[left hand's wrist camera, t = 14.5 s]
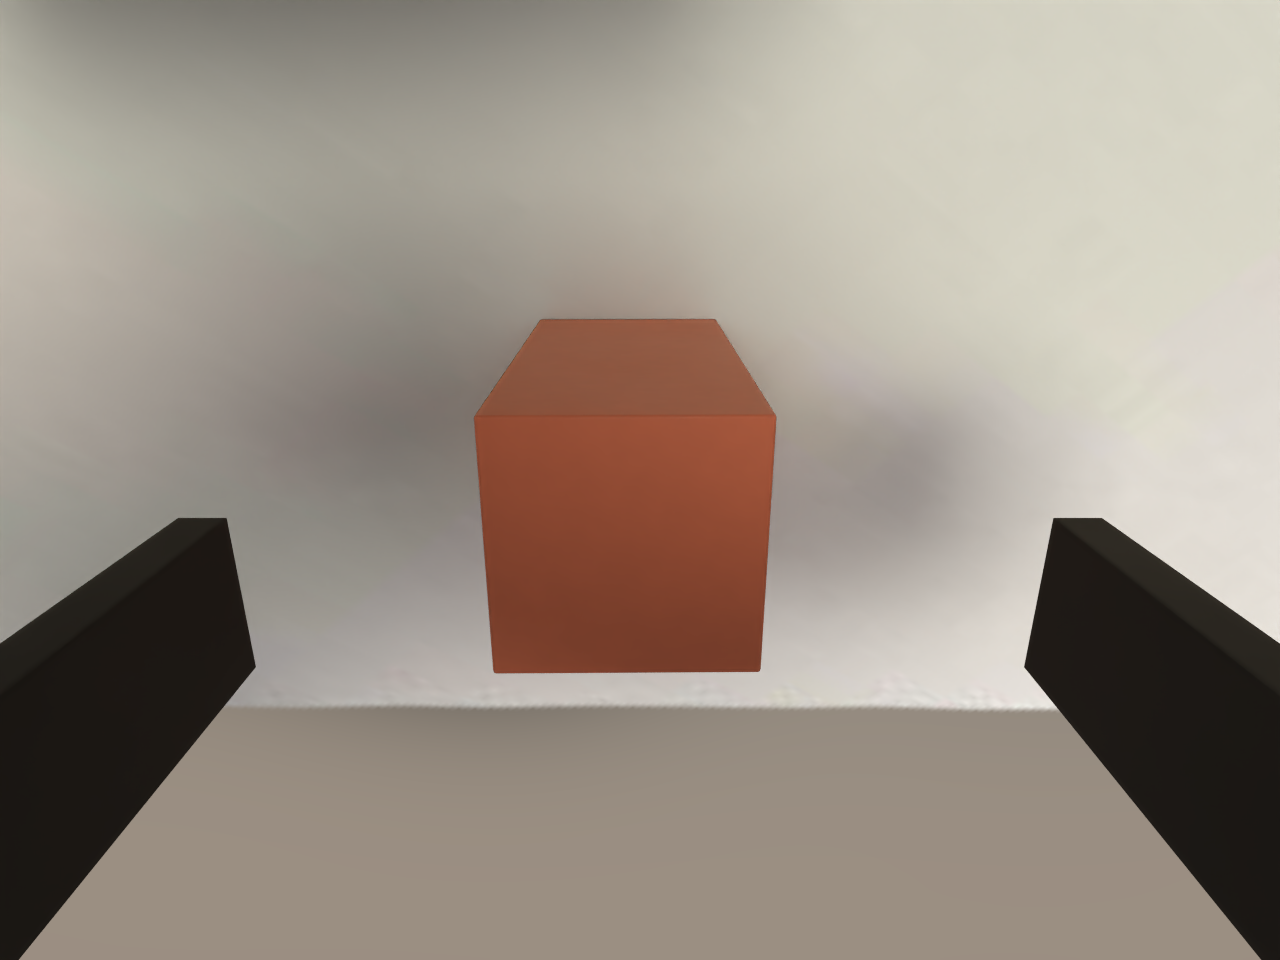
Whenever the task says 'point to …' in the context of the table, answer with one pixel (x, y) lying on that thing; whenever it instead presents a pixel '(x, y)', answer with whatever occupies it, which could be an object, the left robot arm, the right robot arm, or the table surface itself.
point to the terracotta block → (626, 500)
